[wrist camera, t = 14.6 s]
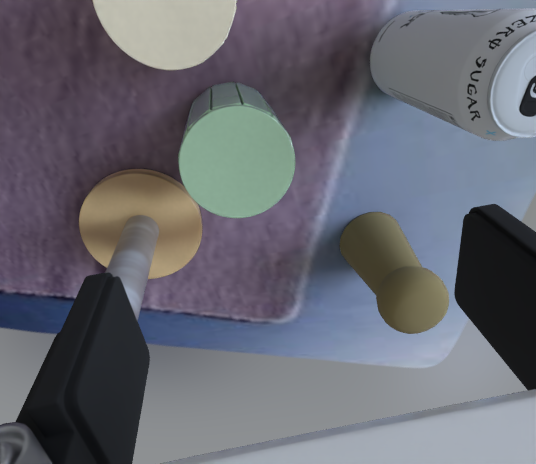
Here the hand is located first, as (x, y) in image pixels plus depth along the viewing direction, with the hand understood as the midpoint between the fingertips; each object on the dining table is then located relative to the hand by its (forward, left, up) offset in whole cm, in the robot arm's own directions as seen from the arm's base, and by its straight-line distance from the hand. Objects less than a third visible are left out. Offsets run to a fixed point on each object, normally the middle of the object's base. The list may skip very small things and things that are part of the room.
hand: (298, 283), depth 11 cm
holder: (+8, -10, -24) cm, 27 cm away
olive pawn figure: (+14, +10, -24) cm, 29 cm away
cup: (-8, -3, -24) cm, 25 cm away
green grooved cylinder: (+1, -1, -24) cm, 24 cm away
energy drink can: (-2, +13, -24) cm, 27 cm away
